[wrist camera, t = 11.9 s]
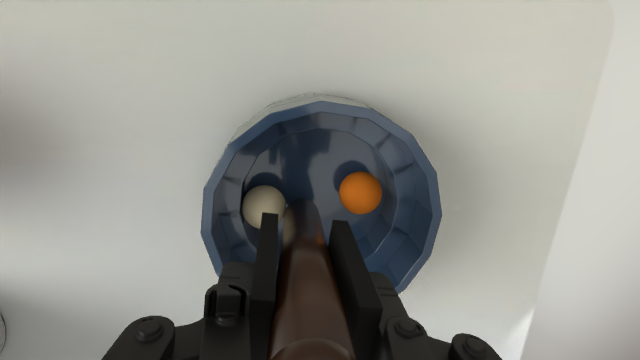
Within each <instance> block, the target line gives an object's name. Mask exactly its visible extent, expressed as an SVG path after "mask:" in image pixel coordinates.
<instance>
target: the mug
mask: <svg viewBox="0 0 640 360" xmlns="http://www.w3.org/2000/svg"><path fill="white" fill-rule="evenodd" d="M5 336H6V332H5V326H4V322H3V320H2V317H1V315H0V352H1V350H2V348H3V346H4V342H5Z"/></svg>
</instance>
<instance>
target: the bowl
mask: <svg viewBox="0 0 640 360" xmlns="http://www.w3.org/2000/svg"><path fill="white" fill-rule="evenodd" d="M360 171H361V172H367V173H370V174H371V175H373V176H374V177H375V178H376V179H377V180H378V181H379V183H380V185H381V189H382V197H381V201H380V203H379V205H378V206H377V207H376V208H375V209H374V210H373V211H371V212H369V213H366V214H355V213H352V212H350V211H348V210H347V209H346V208H345V207H344V206H343V204H342V203H341V201H340V197H339V188H340V185H341V183H342V181H343V180H344V179H345V177H347V176H348V175H349V174H351V173H354V172H360ZM261 185H268V186H272V187H274V188H276V189H277V190H278V191H280V192H281V194H282V195H283V197H284V199H285V202H286V208H287V206H288V205H289V204H290V203H291V202H292V201H294V200H296V199H300V198H304V199H308V200H310V201H312V202H313V203H314V204H315V205H316V206H317V208H318V211H319V215H320V219H321V222H322V226H323V230H324V234H325V238H326V242H327V246H328V243H329V237H330V232H331V226H332V221H333V220H342V221H348V223H349V225H350V227H351V230H352V232H353V235H354V237H355V240H356V242H357V245H358V247H359V250H360V252H361V255H362V257H363V260H364V262H365V264H366V267H367V269H368V272H379V273H383V274H384V275H385V276H387V277H388V278H389V279H390V280H391V282H392V284H393V286H394V288H395V290H396V292H397V294H399V293H401V292H402V291H404V290H405V289H406V288H407V286H408V285H409V284H410V282H411V281H412V280H413V278H414V277H415V276H416V274H417V273H418V272H419V270H420V269H421V268H422V266H423V265H424V264H425V262H426V261H427V260H428V259H429V257H430V256H431V253H432V249H433V246H434V242H435V238H436V235H437V231H438V228H439V224H440V221H441V217H442V211H441V204H440V196H439V188H438V181H437V173H436V171H435V170H434V168H433V166H432V165H431V163H430V162H429V160H428V159H427V157H426V155H425V154H424V152H423V151H422V149H421V147H420V146H419V144H418V143H417V141H416V140H415V138H414V136H413V135H412V134H411V133H409V132H408V131H406V130H404V129H403V128H401V127H400V126H398V125H397V124H395V123H394V122H392V121H391V120H389V119H387V118H386V117H384V116H383V115H381V114H380V113H378V112H377V111H375V110H373V109H372V108H370V107H368V106H366V105H364V104H362V103H359V102H357V101H355V100H353V99H348V98H342V97H336V96H330V95H323V94H317V93H310V94H306V95H302V96H298V97H294V98H290V99H286V100H282V101H278V102H274V103H272V104H270V105H268V106H267V107H266V108H264V109H263V110H262V111H260V112H259V113H258V114H257V115H255V116H254V117H253V118H251V119H250V120H249V121H247V122H246V123H245V124H243V125H242V126H241V127H239V129H238V130H237V131H236V133H235V134H234V136H233V138H232V139H231V141H230V142H229V144H228V145H227V147H226V149H225V151H224V152H223V154H222V156H221V158H220V160H219V162H218V163H217V165H216V167H215V169H214V171H213V172H212V174H211V176H210V178H209V180H208V181H207V183H206V185H205V187H204V192H203V207H202V221H201V236H202V239H203V241H204V244H205V246H206V249H207V251H208V254H209V257H210V259H211V262H212V264H213V267H214V269H215V272H216V274H217V276H218V277H220V274H221V271H222V268H223V267H224V266H225V265H226V264H227V263H228V262H229V261H237V262H249V263H255V260H256V253H257V246H258V239H259V232H260V229H259V228H256V227H253V226H252V225H250V224H249V223H248V222H247V221H246V219H245V218H244V216H243V213H242V202H243V199H244V197H245V195H246V194H247V193H248V192H249V191H250V190H251V189H252V188H254V187H257V186H261ZM283 223H284V217H283V219H282V220H281V221H280V222H279V223H278V241H277V268H276V278H277V270H278V262H279V254H280V246H281V238H282V230H283Z"/></svg>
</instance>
